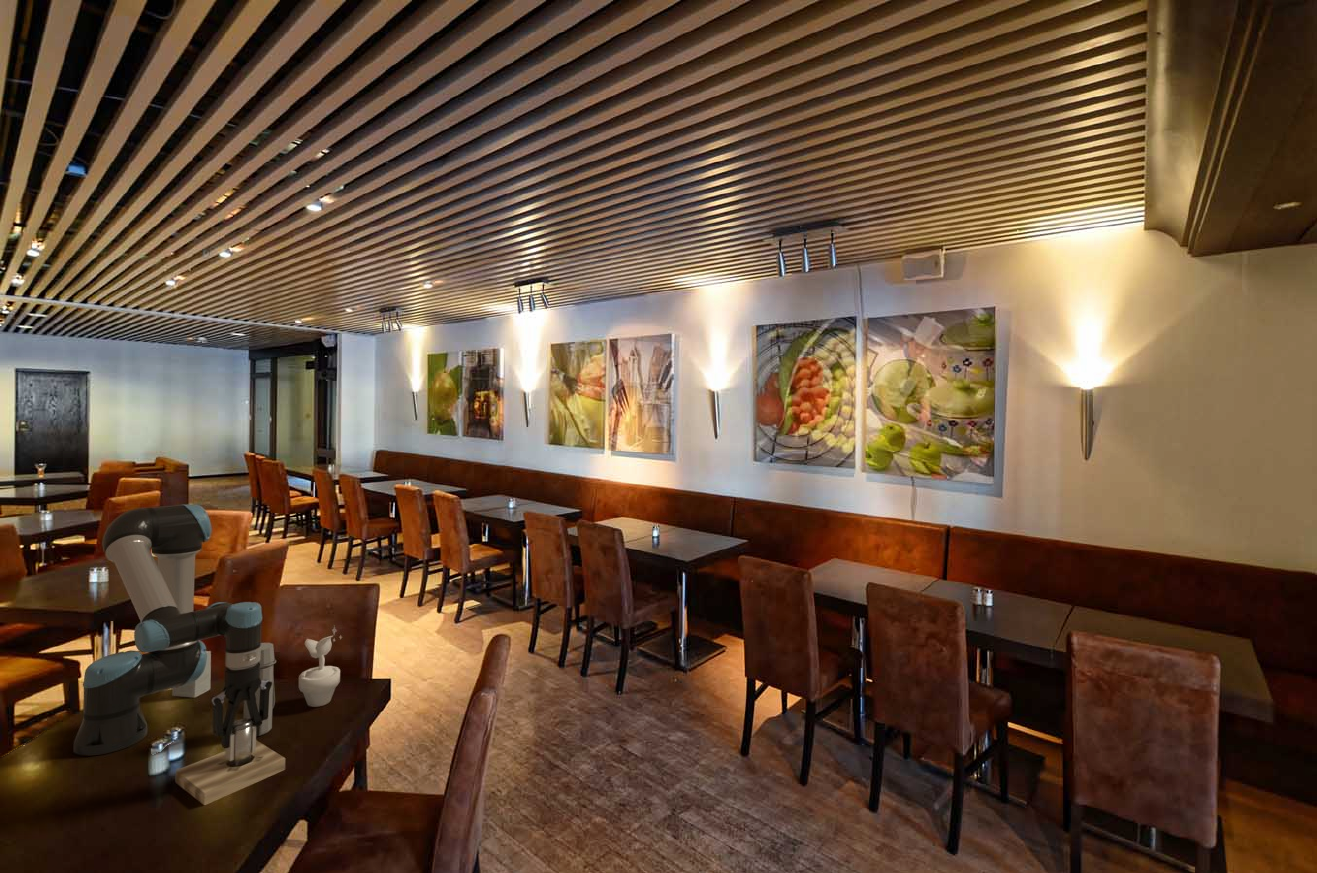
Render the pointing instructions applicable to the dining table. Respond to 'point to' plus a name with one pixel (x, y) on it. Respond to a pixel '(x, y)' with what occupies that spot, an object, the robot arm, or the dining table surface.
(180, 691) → the small box
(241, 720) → the grey metallic cylinder
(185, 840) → the dining table surface
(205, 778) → the jig
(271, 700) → the water bottle
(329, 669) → the potted plant
